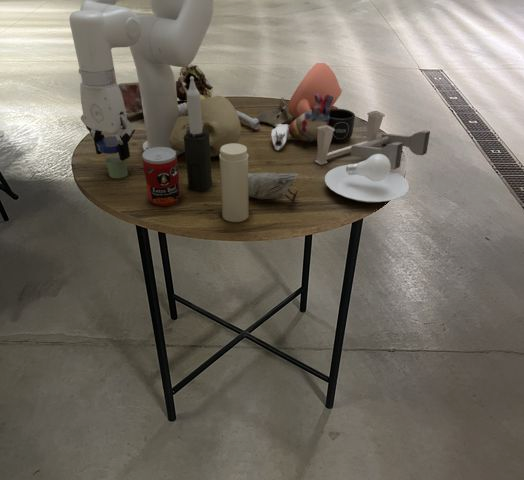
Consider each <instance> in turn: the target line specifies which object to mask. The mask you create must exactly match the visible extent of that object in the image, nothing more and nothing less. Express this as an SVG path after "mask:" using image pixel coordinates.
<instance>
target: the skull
mask: <svg viewBox="0 0 524 480" xmlns="http://www.w3.org/2000/svg"><path fill="white" fill-rule="evenodd" d="M200 104H201V118H202V129H204V130H206V132H208V133H209V142H210V158H212V157H217V156H218V157H219V155H220V153H221V152H220V149H221V147H222V146H223V145H226V144H231V143H236V144H239V141H240V138H241V133H242V126H241V120H239V117H238V114H237V112H236V109H235V107H234V105H233V104H232V103H231V101H230V99H228V98H226V97H225V96H223V95H214V96H213V95H212V97H209V98H206V99H202V100H200ZM186 112H188V108H187V109H186ZM187 125H188V126H187ZM186 126H187V127H186ZM189 129H190V127H189V116H188V115H186V116H181V117H180V116H179V117H178V118H177V119H176V122H175V125H174V127H173V129H172V132H171V135H170V146H171V149H173V150H175V151H184V150H185V145H184V135H185V134H186V131H187V130H189Z"/></svg>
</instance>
